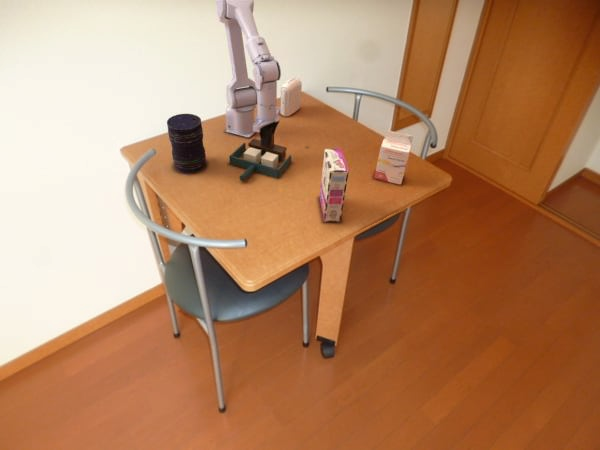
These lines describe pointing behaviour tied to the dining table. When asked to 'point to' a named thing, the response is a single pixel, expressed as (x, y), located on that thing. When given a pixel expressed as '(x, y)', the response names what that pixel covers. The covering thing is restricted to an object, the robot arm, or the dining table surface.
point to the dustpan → (255, 165)
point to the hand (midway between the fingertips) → (267, 142)
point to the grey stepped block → (269, 147)
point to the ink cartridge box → (393, 157)
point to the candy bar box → (333, 185)
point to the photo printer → (290, 97)
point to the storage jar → (187, 143)
